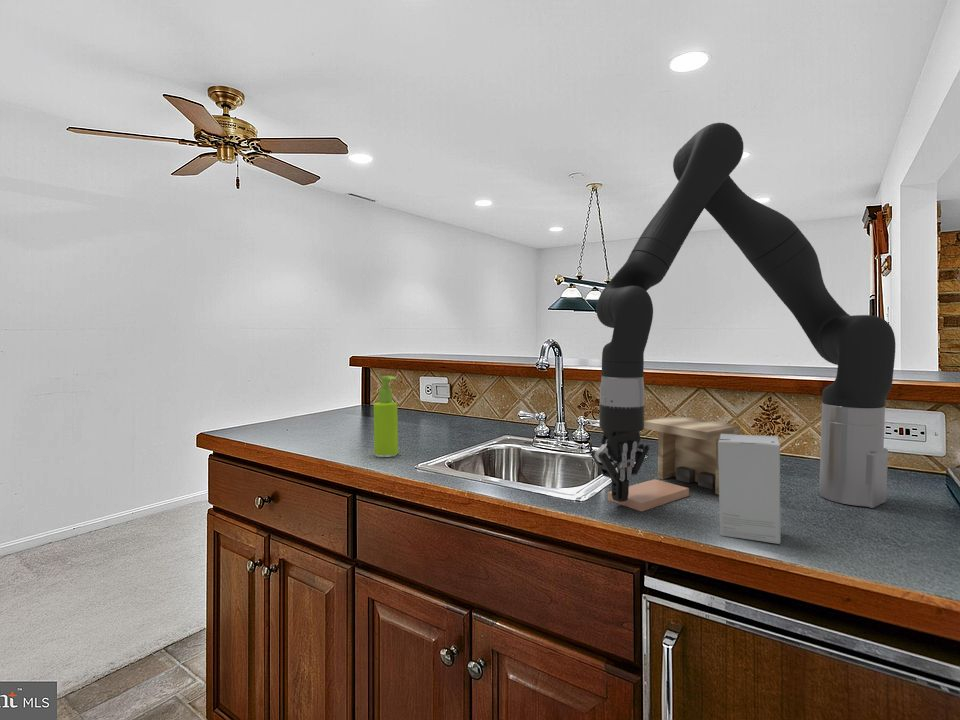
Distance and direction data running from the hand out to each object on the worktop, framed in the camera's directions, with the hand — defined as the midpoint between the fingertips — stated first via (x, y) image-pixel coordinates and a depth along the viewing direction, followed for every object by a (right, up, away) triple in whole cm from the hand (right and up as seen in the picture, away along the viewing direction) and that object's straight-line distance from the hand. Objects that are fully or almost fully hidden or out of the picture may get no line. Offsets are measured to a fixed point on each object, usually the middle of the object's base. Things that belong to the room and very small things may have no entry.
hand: (620, 500), depth 90 cm
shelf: (+17, 0, +11) cm, 20 cm away
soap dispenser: (-48, 0, +38) cm, 61 cm away
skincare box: (+16, -2, -13) cm, 20 cm away
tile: (+7, -1, +5) cm, 8 cm away
